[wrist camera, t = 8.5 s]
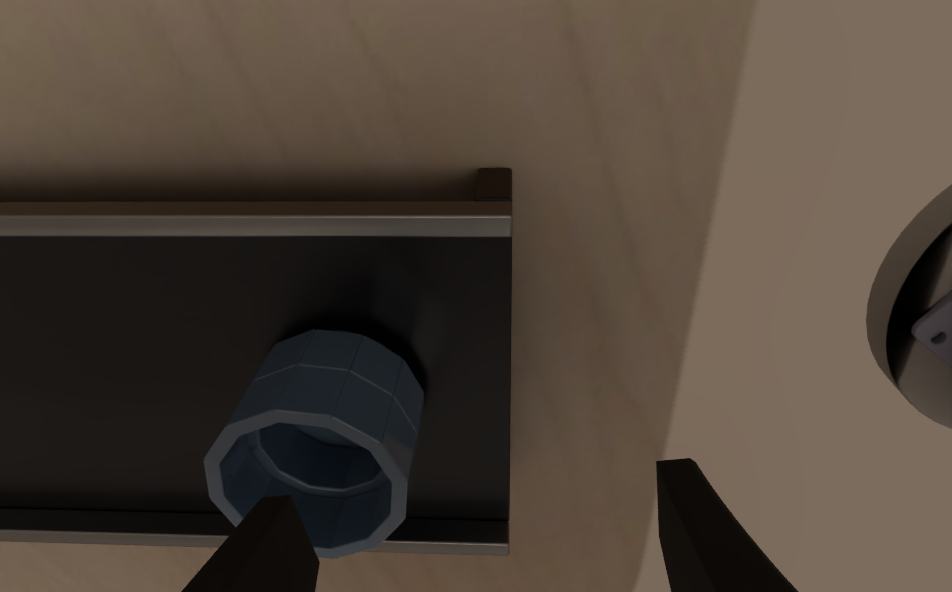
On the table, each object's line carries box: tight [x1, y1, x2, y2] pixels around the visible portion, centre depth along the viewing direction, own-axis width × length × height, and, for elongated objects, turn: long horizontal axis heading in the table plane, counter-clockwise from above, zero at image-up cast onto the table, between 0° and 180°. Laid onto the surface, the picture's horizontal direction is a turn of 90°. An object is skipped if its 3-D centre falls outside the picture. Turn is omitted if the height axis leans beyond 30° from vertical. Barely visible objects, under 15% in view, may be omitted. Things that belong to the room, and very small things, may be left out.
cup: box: [204, 329, 425, 559], centre depth 17 cm, size 5×5×4 cm
